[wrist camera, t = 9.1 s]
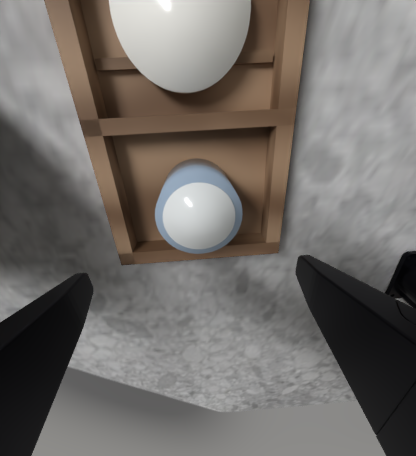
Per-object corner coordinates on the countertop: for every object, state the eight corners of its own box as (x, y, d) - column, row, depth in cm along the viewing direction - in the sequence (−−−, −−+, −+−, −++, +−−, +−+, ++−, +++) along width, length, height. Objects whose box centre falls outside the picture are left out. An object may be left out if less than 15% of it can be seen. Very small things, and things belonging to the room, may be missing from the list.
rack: (270, 239, 22) (278, 253, 20) (128, 249, 21) (121, 265, 19) (305, -119, 12) (331, -171, 9) (33, -114, 11) (-5, -166, 9)
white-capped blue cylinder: (229, 220, 20) (241, 252, 15) (167, 224, 20) (161, 258, 15) (230, 156, 17) (244, 171, 13) (158, 160, 17) (147, 177, 12)
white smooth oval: (244, 90, 15) (248, 89, 14) (131, 96, 15) (126, 95, 14) (248, -84, 11) (254, -104, 10) (98, -79, 11) (88, -100, 10)
